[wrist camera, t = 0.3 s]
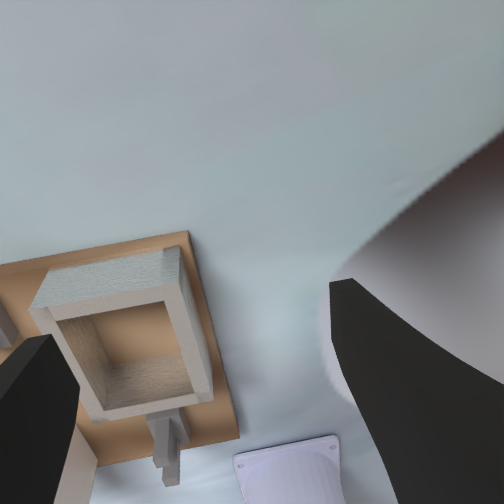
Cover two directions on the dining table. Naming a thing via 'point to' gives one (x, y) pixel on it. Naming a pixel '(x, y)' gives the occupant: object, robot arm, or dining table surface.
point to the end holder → (117, 297)
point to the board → (128, 347)
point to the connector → (77, 472)
